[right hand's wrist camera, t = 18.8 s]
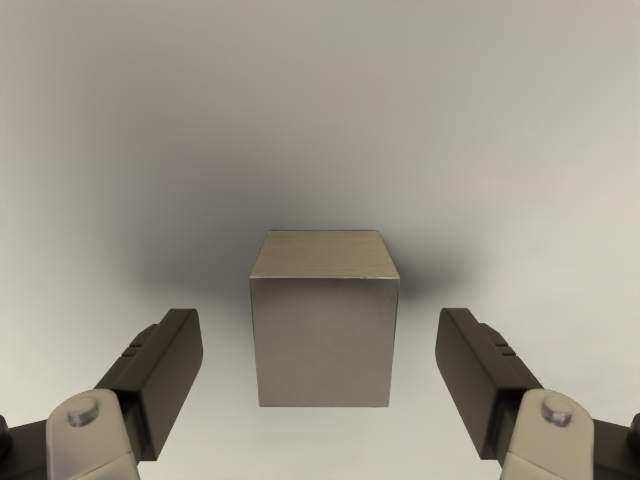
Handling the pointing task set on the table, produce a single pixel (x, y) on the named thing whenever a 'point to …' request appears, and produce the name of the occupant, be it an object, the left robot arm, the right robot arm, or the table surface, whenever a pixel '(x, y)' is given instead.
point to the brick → (324, 319)
